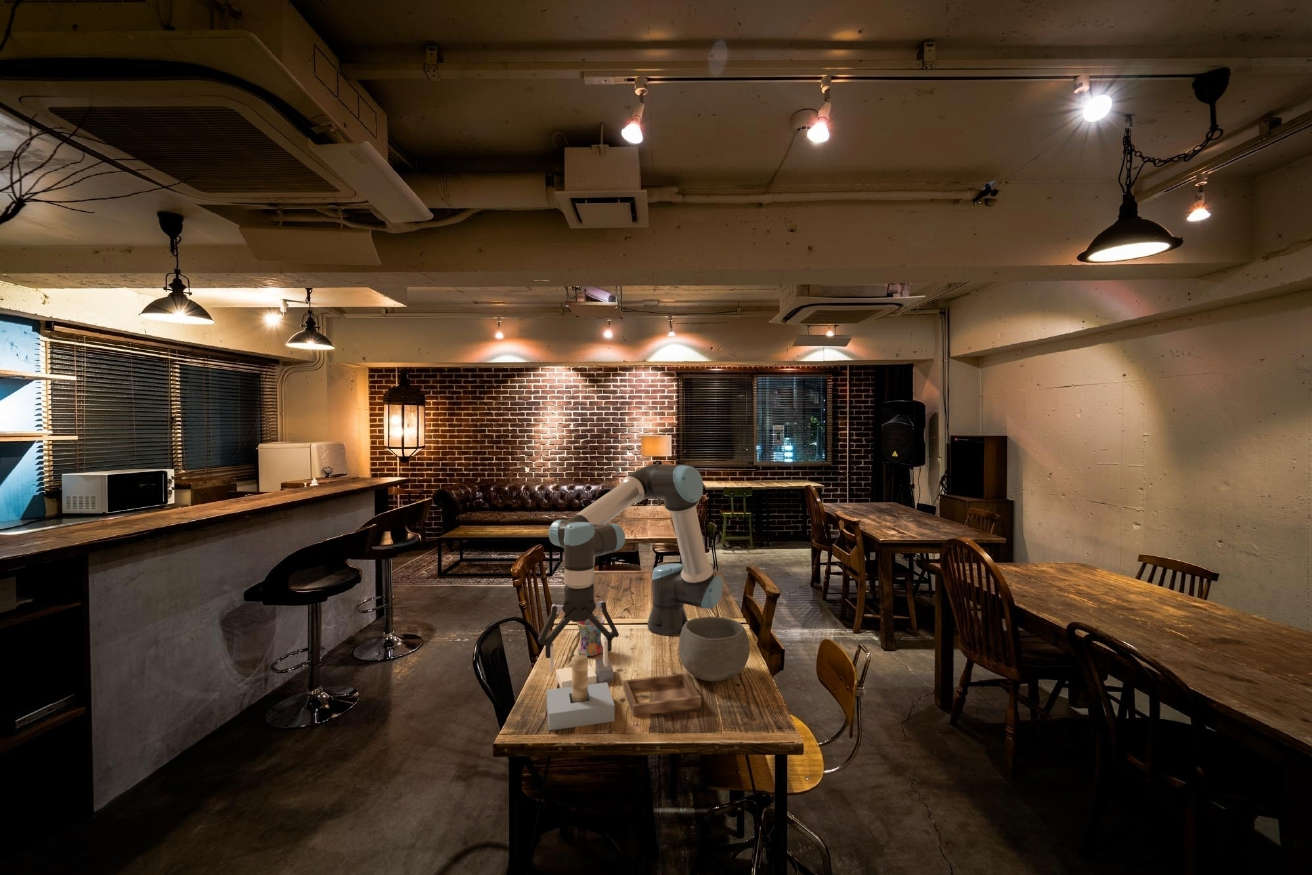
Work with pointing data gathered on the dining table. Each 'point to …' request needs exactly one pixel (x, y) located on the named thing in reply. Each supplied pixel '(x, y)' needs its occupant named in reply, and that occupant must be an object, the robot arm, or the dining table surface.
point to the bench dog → (604, 671)
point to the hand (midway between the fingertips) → (578, 667)
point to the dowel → (579, 678)
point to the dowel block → (579, 707)
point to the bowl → (713, 648)
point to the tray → (664, 695)
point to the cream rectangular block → (566, 676)
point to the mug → (590, 638)
